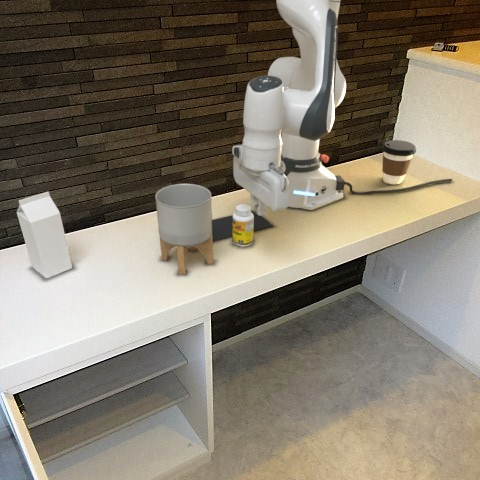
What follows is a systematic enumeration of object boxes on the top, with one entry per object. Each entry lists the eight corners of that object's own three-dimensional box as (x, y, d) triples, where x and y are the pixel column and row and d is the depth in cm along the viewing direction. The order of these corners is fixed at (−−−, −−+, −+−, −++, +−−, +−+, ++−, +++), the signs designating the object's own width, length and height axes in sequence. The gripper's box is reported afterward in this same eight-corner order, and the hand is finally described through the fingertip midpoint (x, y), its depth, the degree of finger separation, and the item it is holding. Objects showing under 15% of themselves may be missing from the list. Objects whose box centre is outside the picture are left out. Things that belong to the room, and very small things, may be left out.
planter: (155, 272, 122) (148, 204, 111) (168, 246, 132) (163, 181, 121) (207, 276, 121) (205, 209, 110) (217, 249, 131) (215, 185, 120)
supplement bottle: (228, 241, 135) (228, 206, 128) (244, 235, 137) (245, 200, 131) (240, 249, 131) (240, 214, 125) (257, 243, 134) (258, 208, 128)
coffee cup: (378, 186, 164) (385, 150, 157) (373, 174, 173) (379, 139, 165) (412, 187, 164) (420, 151, 157) (404, 174, 173) (412, 139, 165)
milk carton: (72, 268, 123) (56, 196, 111) (46, 279, 119) (26, 205, 107) (58, 257, 127) (41, 186, 115) (32, 267, 123) (11, 195, 111)
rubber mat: (254, 211, 149) (254, 210, 149) (273, 226, 142) (273, 225, 141) (192, 225, 142) (192, 224, 141) (209, 242, 134) (209, 241, 134)
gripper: (298, 170, 107) (293, 228, 115) (251, 141, 121) (249, 195, 129) (273, 174, 104) (269, 234, 113) (228, 144, 118) (228, 199, 127)
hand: (258, 213), depth 121 cm, fingers closed
